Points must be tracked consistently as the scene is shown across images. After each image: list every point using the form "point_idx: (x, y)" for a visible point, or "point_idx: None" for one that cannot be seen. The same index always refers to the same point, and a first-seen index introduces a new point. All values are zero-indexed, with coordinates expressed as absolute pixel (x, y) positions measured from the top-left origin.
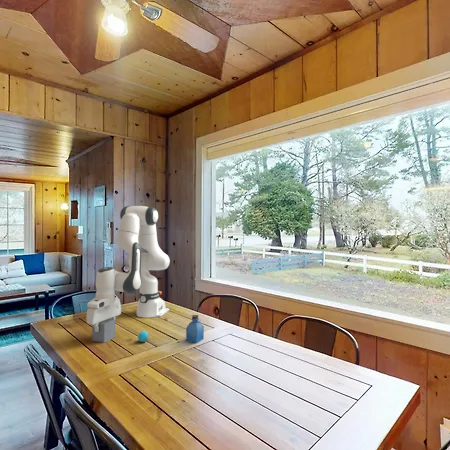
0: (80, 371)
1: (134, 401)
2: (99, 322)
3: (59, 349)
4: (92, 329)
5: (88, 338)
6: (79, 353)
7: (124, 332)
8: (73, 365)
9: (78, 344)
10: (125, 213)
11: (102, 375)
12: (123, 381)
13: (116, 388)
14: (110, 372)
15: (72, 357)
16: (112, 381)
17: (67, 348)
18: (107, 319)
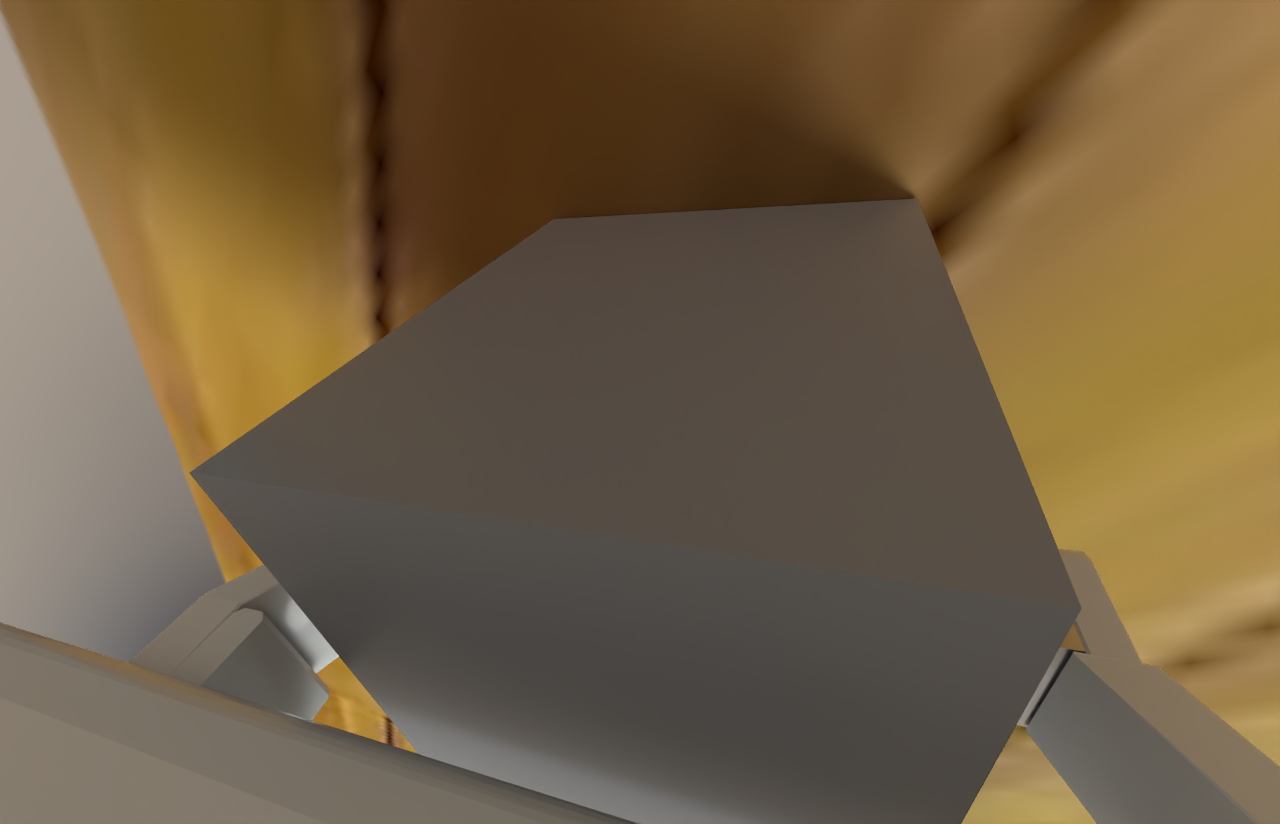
0: (236, 575)
1: None
2: (409, 671)
3: (23, 26)
4: (408, 332)
5: (577, 12)
6: (267, 403)
7: (1244, 524)
8: (202, 502)
9: (307, 140)
10: None
11: (323, 669)
12: (376, 735)
13: (336, 725)
14: (363, 687)
15: (199, 406)
16: (342, 708)
17: (140, 122)
18: (837, 799)
